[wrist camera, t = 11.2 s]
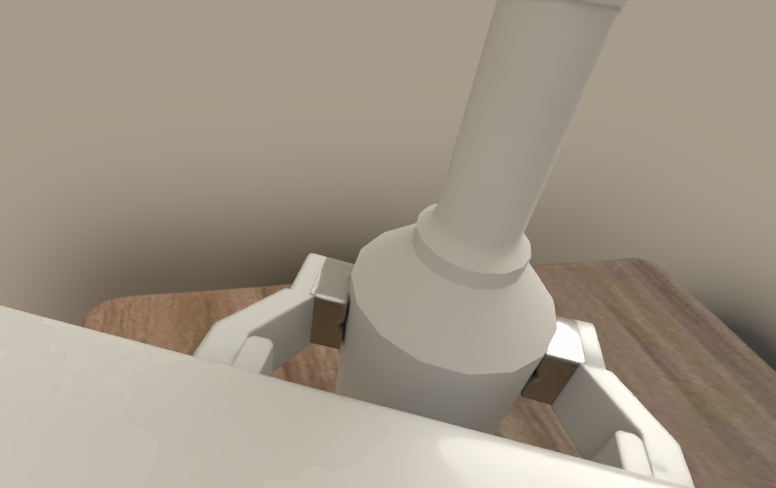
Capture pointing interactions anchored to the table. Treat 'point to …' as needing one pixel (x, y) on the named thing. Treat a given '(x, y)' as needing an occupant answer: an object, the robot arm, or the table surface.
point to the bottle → (477, 233)
